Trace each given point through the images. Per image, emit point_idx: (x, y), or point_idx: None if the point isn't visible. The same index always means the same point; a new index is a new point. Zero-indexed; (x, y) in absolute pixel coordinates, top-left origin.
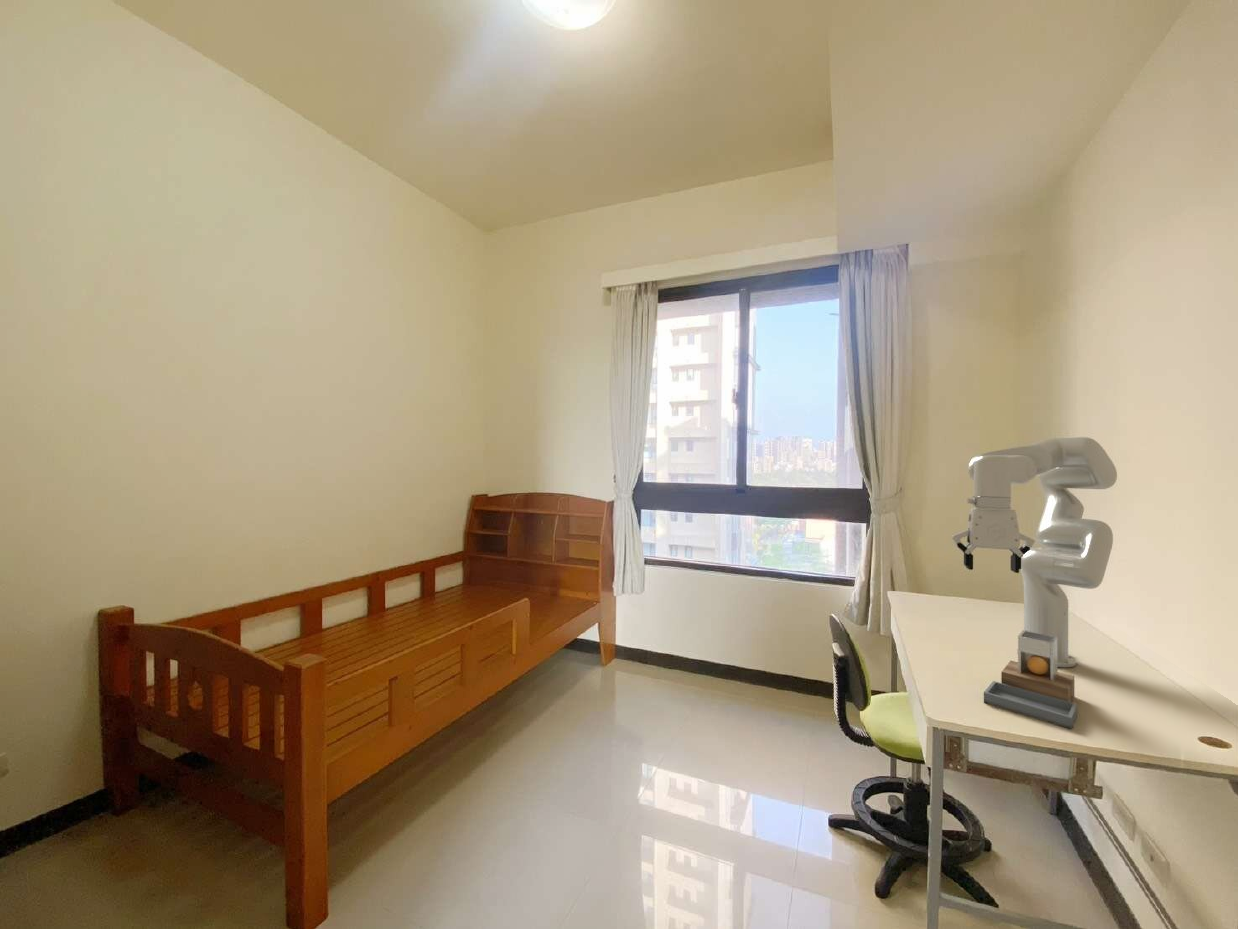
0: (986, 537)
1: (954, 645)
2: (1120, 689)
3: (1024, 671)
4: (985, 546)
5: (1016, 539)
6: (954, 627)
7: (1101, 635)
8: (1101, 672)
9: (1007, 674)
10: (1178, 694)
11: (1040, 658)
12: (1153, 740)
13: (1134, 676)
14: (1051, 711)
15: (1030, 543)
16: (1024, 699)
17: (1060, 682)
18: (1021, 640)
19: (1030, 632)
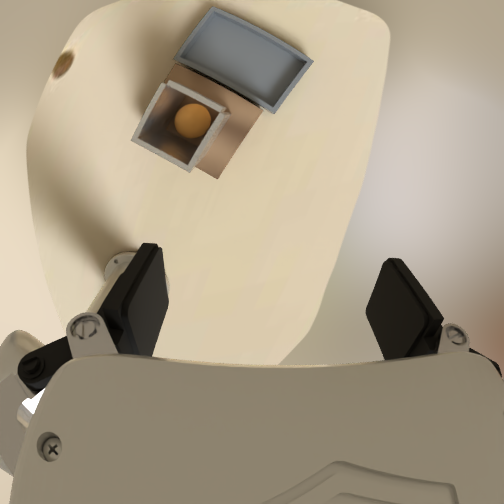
0: (458, 464)
1: (253, 304)
2: (81, 193)
3: None
4: (425, 363)
5: (44, 454)
6: None
7: None
8: (86, 250)
9: (254, 105)
10: (37, 203)
11: (184, 118)
12: (122, 29)
13: (60, 247)
14: (232, 17)
15: (2, 398)
16: (239, 80)
17: None
18: (221, 106)
19: (178, 159)
